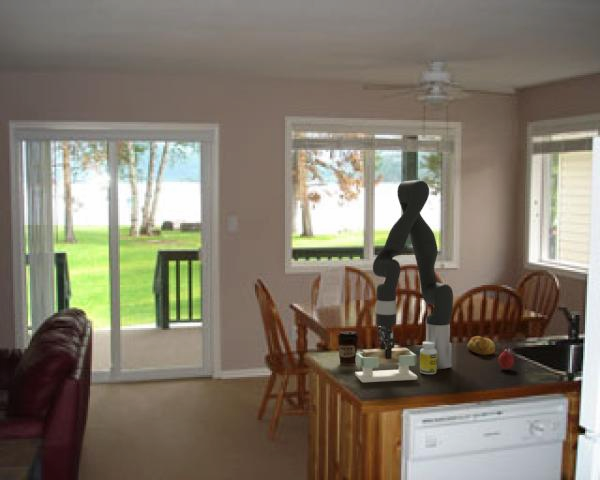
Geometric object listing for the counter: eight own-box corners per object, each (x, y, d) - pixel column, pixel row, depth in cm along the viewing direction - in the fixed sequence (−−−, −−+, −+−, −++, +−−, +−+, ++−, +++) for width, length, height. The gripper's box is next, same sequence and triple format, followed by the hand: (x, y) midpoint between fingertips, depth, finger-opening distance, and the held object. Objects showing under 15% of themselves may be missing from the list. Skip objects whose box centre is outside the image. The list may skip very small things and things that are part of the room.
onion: (514, 368, 254) (514, 348, 253) (512, 372, 249) (513, 351, 248) (499, 367, 256) (499, 347, 256) (497, 370, 251) (497, 350, 250)
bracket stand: (407, 372, 249) (408, 349, 249) (417, 379, 240) (417, 355, 239) (354, 375, 246) (355, 352, 245) (362, 382, 236) (362, 358, 235)
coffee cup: (357, 367, 256) (357, 334, 256) (336, 366, 258) (336, 334, 257) (359, 361, 265) (359, 330, 264) (339, 360, 267) (339, 329, 266)
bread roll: (462, 350, 285) (462, 332, 284) (480, 348, 288) (481, 330, 287) (480, 357, 273) (480, 338, 272) (499, 355, 276) (499, 336, 275)
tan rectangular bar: (405, 359, 246) (405, 347, 245) (409, 362, 242) (409, 350, 241) (362, 361, 243) (362, 349, 242) (365, 364, 239) (365, 352, 238)
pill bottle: (426, 375, 244) (427, 345, 244) (416, 371, 250) (416, 341, 249) (440, 373, 247) (440, 343, 247) (429, 369, 253) (430, 340, 252)
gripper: (402, 315, 234) (401, 361, 236) (389, 308, 249) (389, 351, 250) (382, 315, 233) (382, 362, 234) (370, 309, 247) (370, 352, 248)
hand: (385, 356), depth 242 cm, fingers open, 5 cm apart
